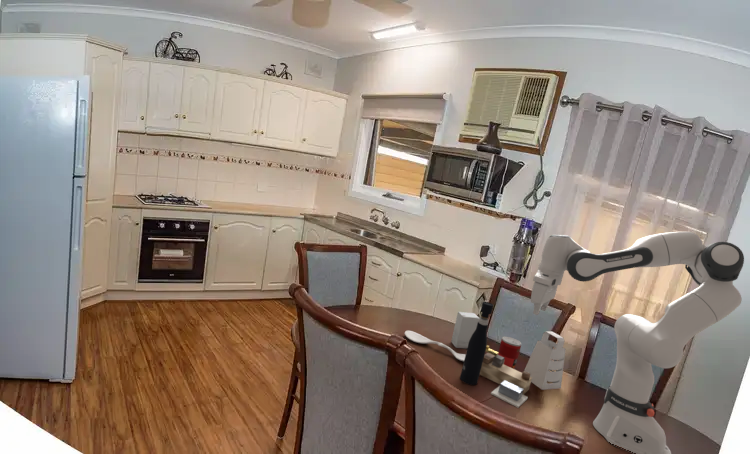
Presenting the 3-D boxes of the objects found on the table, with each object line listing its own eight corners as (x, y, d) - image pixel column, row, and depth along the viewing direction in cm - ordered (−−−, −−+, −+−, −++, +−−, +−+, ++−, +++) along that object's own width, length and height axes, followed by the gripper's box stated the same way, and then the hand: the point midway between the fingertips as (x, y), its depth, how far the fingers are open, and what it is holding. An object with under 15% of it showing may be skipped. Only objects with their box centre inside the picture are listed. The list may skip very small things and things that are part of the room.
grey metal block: (521, 397, 154) (523, 389, 153) (517, 401, 150) (519, 393, 150) (502, 388, 158) (504, 380, 157) (498, 392, 154) (500, 383, 154)
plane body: (528, 389, 162) (534, 369, 161) (522, 395, 157) (528, 374, 156) (484, 368, 173) (489, 349, 172) (477, 373, 167) (482, 353, 166)
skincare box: (467, 343, 195) (474, 312, 193) (472, 350, 190) (480, 318, 187) (450, 342, 193) (457, 310, 191) (455, 348, 187) (463, 315, 185)
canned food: (516, 371, 176) (522, 346, 175) (496, 366, 178) (502, 341, 176) (513, 363, 184) (520, 339, 182) (494, 358, 185) (501, 334, 183)
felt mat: (527, 398, 155) (528, 397, 155) (518, 407, 147) (518, 406, 147) (501, 385, 161) (501, 384, 161) (490, 393, 153) (491, 392, 153)
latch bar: (497, 354, 167) (499, 350, 167) (496, 356, 165) (497, 351, 165) (483, 348, 170) (484, 343, 170) (481, 349, 169) (482, 344, 169)
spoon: (470, 369, 170) (472, 361, 170) (399, 338, 186) (401, 331, 186) (477, 362, 178) (479, 354, 177) (409, 333, 194) (411, 326, 193)
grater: (540, 374, 179) (553, 328, 176) (560, 388, 170) (574, 340, 167) (521, 375, 174) (534, 328, 171) (541, 389, 165) (555, 340, 162)
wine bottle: (480, 382, 160) (500, 305, 156) (471, 386, 155) (491, 307, 151) (465, 374, 164) (484, 299, 160) (456, 378, 160) (475, 301, 155)
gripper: (548, 271, 170) (539, 305, 172) (532, 276, 154) (522, 313, 156) (564, 276, 167) (555, 310, 169) (550, 282, 150) (540, 319, 152)
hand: (539, 312), depth 162 cm, fingers open, 8 cm apart
